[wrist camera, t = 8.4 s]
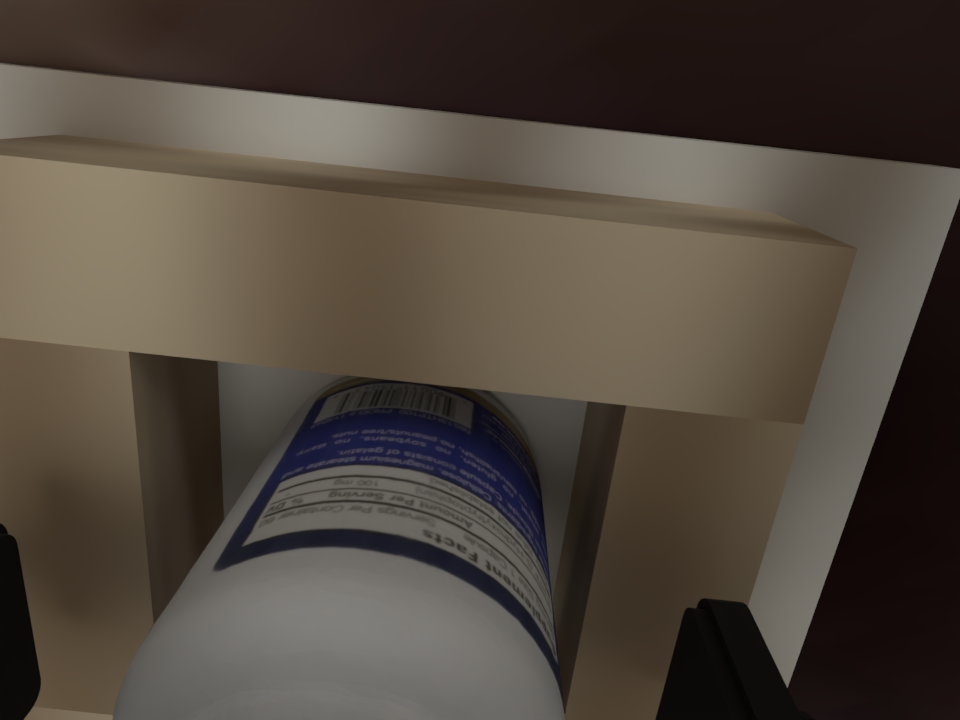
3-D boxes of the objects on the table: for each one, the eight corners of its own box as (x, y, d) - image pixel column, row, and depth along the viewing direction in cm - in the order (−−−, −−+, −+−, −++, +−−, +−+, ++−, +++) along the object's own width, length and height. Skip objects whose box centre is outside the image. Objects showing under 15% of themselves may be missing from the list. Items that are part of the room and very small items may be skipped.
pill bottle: (431, 629, 15) (336, 1300, 7) (228, 494, 14) (-192, 1091, 5) (598, 468, 13) (751, 1083, 5) (383, 301, 12) (122, 733, 4)
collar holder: (933, 164, 12) (1126, 194, 8) (742, 739, 17) (809, 919, 13) (-82, 53, 12) (-350, 32, 8) (28, 663, 17) (-107, 822, 13)
